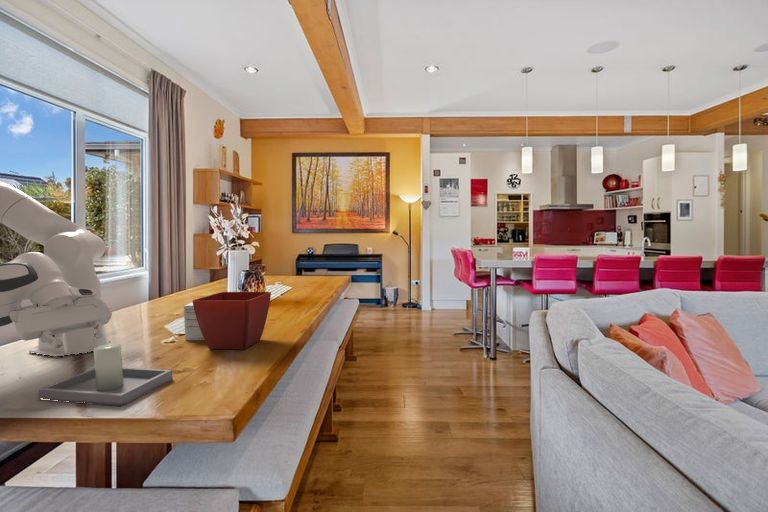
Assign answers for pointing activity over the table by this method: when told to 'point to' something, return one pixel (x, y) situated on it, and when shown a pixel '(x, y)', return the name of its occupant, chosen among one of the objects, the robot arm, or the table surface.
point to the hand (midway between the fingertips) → (79, 341)
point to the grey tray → (85, 391)
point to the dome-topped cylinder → (108, 367)
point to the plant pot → (232, 318)
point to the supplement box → (191, 324)
